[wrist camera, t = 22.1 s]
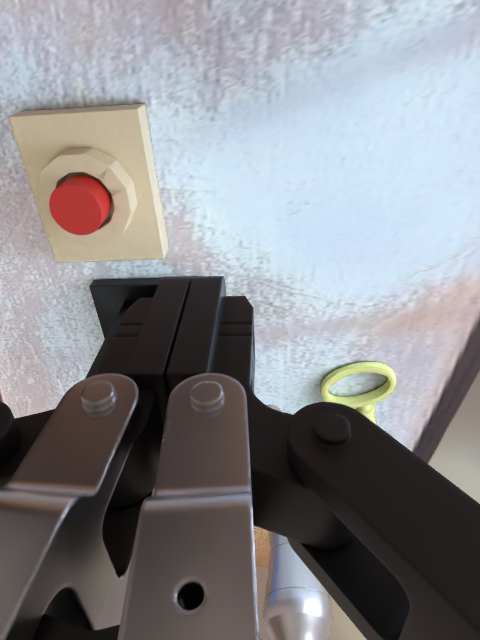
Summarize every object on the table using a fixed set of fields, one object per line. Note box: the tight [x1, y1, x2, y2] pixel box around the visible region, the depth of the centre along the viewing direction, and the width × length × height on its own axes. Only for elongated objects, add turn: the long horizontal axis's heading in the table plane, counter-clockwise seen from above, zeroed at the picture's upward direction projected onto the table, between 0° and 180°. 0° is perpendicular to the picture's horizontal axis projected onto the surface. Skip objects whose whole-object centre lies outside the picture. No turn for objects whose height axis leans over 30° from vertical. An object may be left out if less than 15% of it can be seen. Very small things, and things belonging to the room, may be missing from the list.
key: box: [320, 362, 396, 425], centre depth 45 cm, size 7×12×2 cm, turn 40°
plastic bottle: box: [263, 531, 333, 640], centre depth 46 cm, size 6×7×20 cm
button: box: [49, 175, 111, 235], centre depth 31 cm, size 4×4×2 cm
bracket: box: [85, 277, 193, 379], centre depth 36 cm, size 10×8×14 cm
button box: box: [8, 104, 169, 263], centre depth 33 cm, size 11×9×4 cm
